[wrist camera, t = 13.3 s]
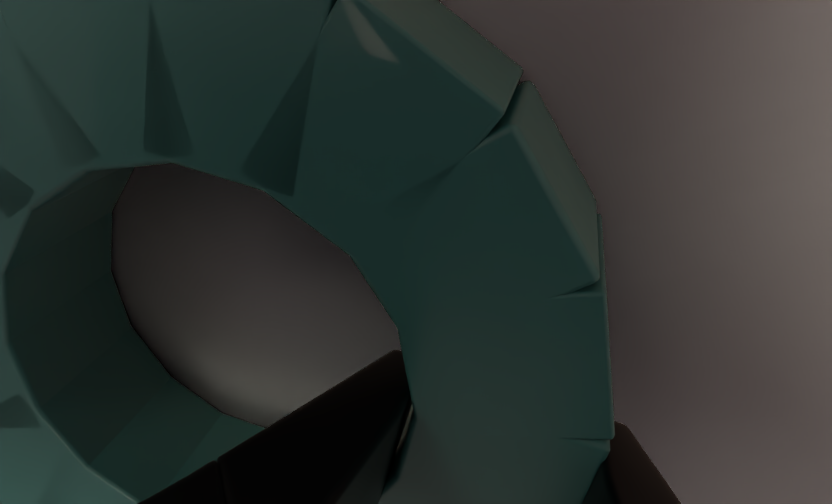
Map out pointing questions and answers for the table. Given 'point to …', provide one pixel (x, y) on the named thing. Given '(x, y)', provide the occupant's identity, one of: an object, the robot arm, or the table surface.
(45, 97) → the teal ring
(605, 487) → the robot arm
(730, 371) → the table surface
